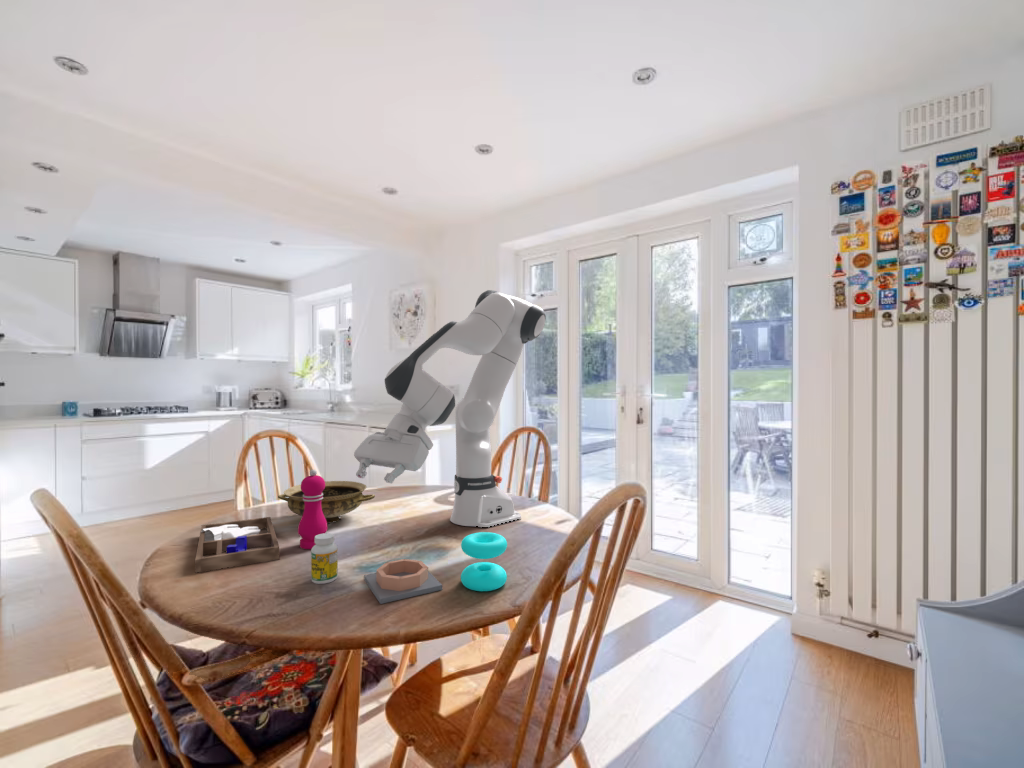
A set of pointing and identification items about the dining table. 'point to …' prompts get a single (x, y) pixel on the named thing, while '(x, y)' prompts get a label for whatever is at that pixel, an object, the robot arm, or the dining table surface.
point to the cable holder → (238, 545)
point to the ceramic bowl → (330, 498)
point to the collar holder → (401, 580)
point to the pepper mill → (312, 510)
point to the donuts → (483, 573)
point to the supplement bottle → (324, 559)
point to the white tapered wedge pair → (228, 532)
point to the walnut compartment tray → (221, 545)
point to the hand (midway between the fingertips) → (373, 479)
